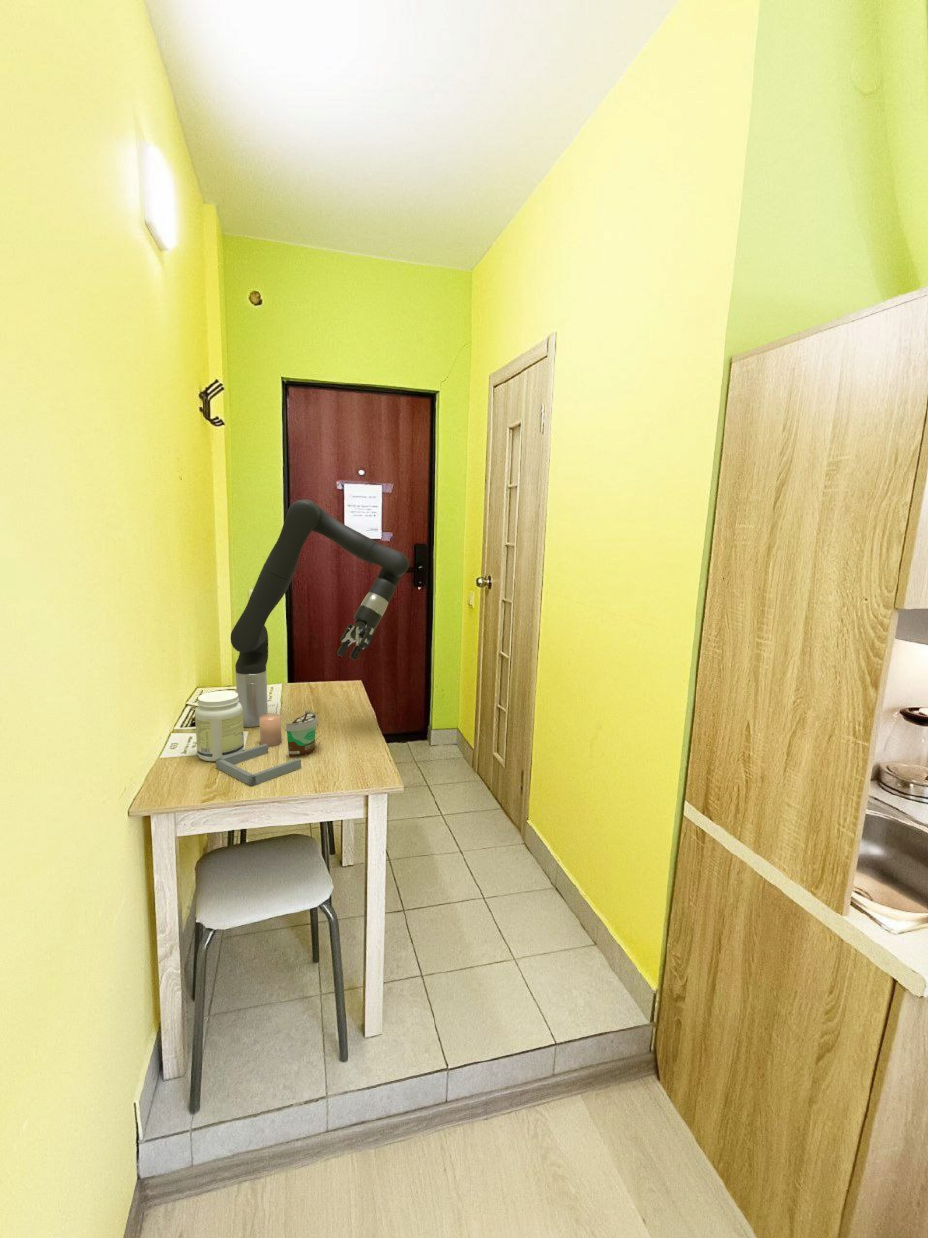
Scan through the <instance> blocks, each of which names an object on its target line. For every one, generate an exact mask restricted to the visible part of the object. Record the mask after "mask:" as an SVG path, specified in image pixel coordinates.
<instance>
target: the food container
mask: <svg viewBox="0 0 928 1238" xmlns="http://www.w3.org/2000/svg"><path fill="white" fill-rule="evenodd" d="M318 725H319V718H318V716H317V714H316V713H315V712H313V711H310V710H305V711H304V714H303V715H302V716H299V717H297V718H296V719H294V720H293V721H292V722H291V723H289V722H288V723H286V724H285V732H286V737H287V739H286V740H287V749H288V750H287V751H288V756H289V757H290V758H291V757H293V758H294V757H297V758H298V757H303V756H308V755H310V754H312V753H314V752H315V745H316V733H317V732H316V731H317V726H318Z"/></svg>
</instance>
